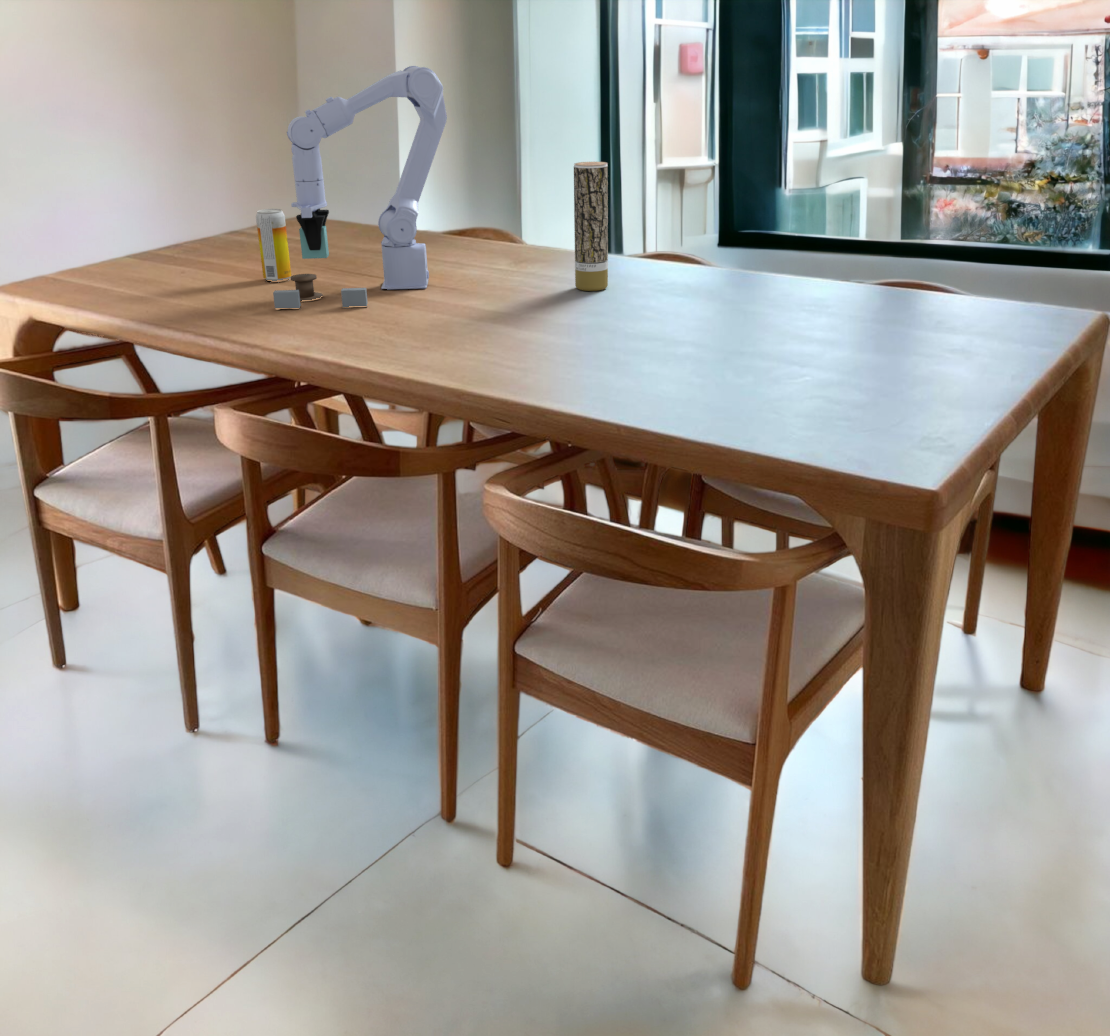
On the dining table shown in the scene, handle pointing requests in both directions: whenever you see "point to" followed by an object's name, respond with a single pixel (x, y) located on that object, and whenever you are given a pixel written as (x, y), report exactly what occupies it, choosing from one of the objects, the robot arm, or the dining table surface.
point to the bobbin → (305, 286)
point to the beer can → (273, 244)
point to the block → (314, 253)
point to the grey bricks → (293, 301)
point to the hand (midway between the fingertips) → (316, 248)
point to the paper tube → (591, 225)
